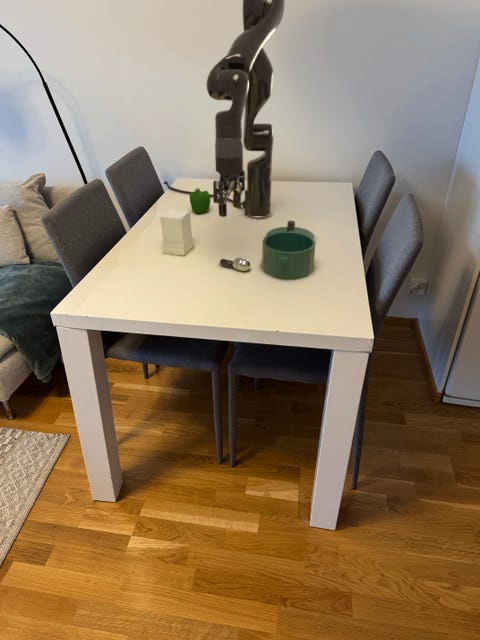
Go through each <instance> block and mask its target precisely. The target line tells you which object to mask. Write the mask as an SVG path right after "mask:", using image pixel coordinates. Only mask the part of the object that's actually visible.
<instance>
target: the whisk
mask: <svg viewBox="0 0 480 640" xmlns="http://www.w3.org/2000/svg"><path fill="white" fill-rule="evenodd" d="M219 264H220V266H222V267H225V268H229V269H233V270H234V269H235V270H236V271H240V272H247V271H249V270H250V268H251V262H250V260H249V259H248V258H244V257H239V256H238V257H236V258H234V259H233V260H231V259H226V258H220V260H219Z"/></svg>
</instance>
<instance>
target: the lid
mask: <svg viewBox="0 0 480 640" xmlns="http://www.w3.org/2000/svg"><path fill="white" fill-rule="evenodd" d="M286 225H287V226H280V227H276V228H275V227H274V228H272V229H270V230H269V231H267V233H266V236H268V235H270V234H273V233H277V232H289V231H297V233H302V234H305V235H308V236H310V237H311V238H313V239H314V240H315V234H314V233H313V232H312V231H310V230H308V229H307V228H302V227H298V226H296V221H295V220H287V224H286Z"/></svg>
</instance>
